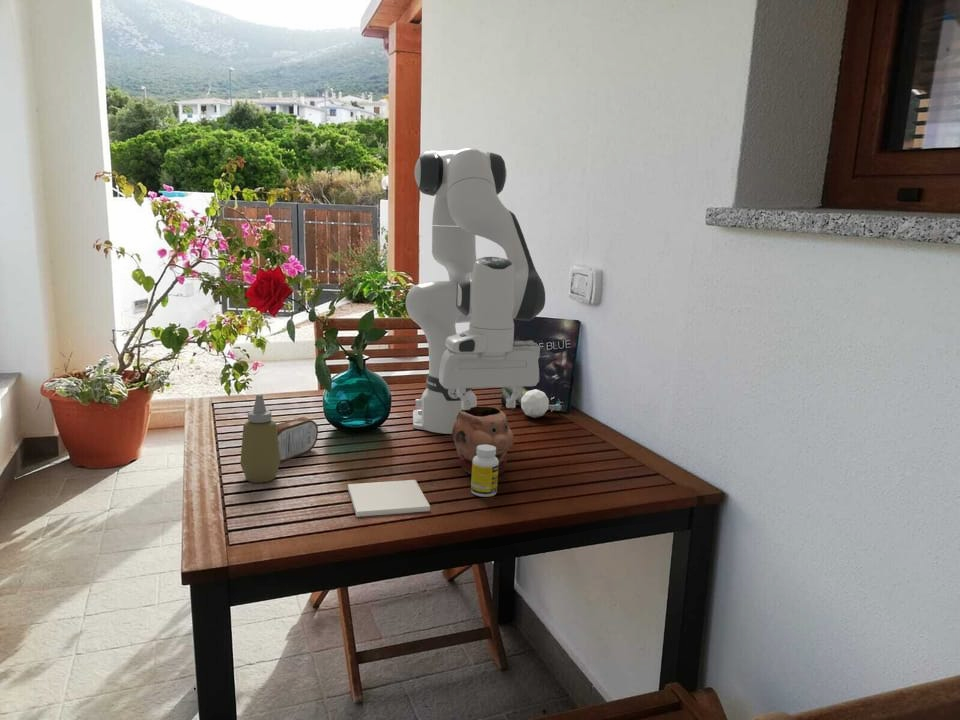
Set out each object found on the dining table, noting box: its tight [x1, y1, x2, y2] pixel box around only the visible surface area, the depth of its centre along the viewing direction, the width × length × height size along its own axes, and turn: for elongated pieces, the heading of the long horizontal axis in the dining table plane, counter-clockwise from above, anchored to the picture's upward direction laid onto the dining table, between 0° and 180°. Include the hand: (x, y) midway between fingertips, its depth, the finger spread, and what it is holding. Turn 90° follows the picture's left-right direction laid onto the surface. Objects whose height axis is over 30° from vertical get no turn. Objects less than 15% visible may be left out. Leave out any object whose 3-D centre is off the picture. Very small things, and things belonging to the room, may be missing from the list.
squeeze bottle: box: [239, 394, 281, 484], centre depth 148 cm, size 8×8×18 cm
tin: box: [276, 416, 319, 463], centre depth 163 cm, size 15×3×8 cm, turn 150°
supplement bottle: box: [470, 445, 499, 498], centre depth 147 cm, size 5×5×10 cm
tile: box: [347, 479, 431, 518], centre depth 142 cm, size 14×14×1 cm
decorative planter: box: [451, 405, 515, 476], centre depth 160 cm, size 20×12×14 cm, turn 37°
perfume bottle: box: [520, 388, 562, 419], centre depth 206 cm, size 8×8×12 cm
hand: (488, 408), depth 144 cm, fingers open, 8 cm apart
